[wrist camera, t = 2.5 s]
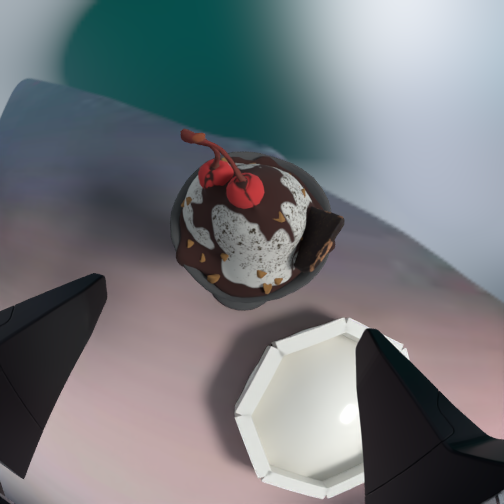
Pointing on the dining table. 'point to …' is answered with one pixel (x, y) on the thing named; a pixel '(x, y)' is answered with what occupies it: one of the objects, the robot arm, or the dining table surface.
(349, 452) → the dish
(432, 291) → the dining table surface
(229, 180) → the sundae
